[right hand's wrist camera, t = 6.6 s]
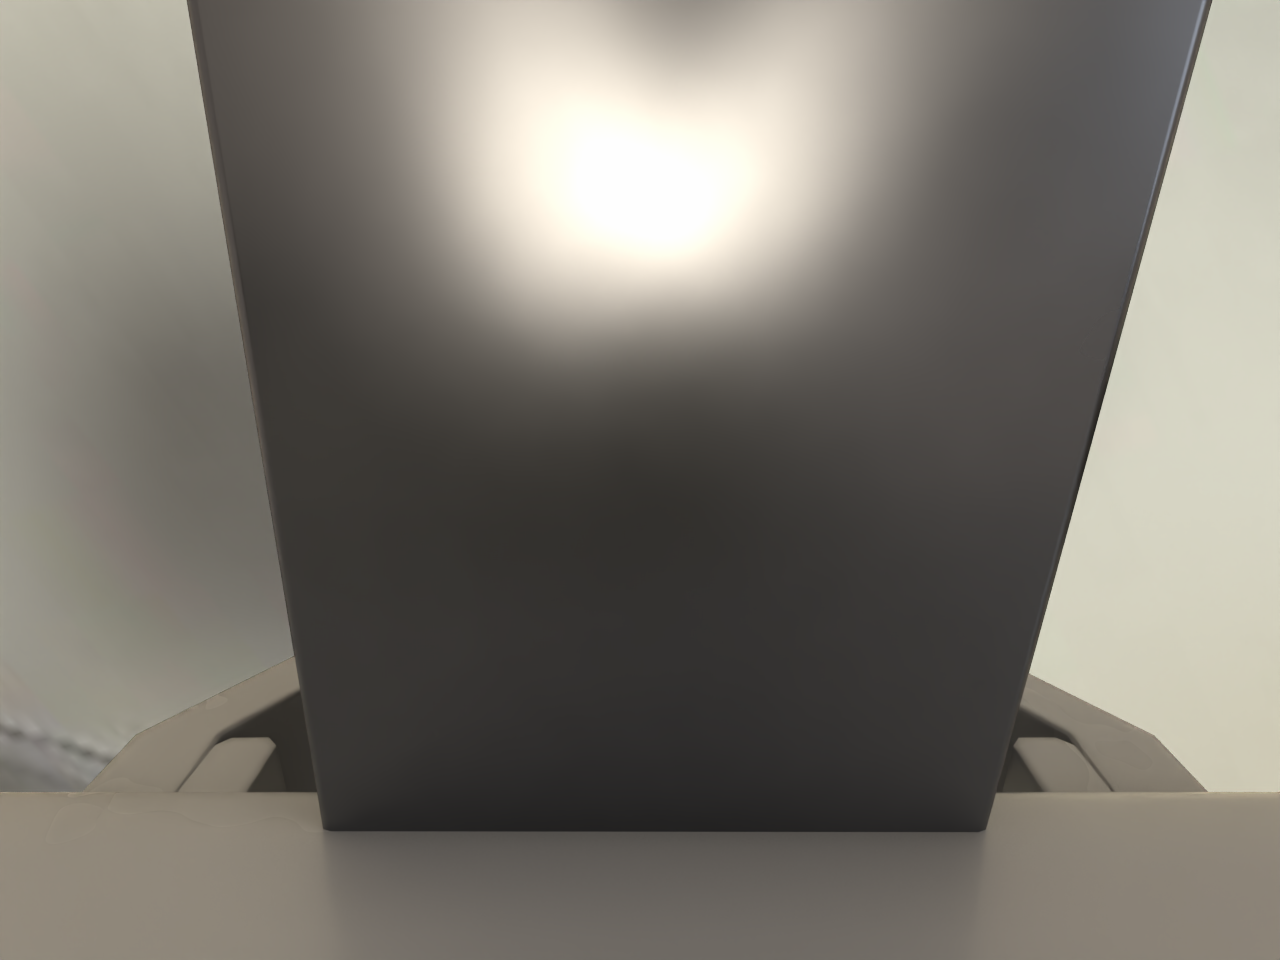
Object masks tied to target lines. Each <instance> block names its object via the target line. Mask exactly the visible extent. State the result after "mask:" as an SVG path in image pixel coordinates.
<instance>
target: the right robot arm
mask: <svg viewBox="0 0 1280 960" xmlns="http://www.w3.org/2000/svg"><path fill="white" fill-rule="evenodd" d="M0 960H1280V792H1208V791H1207V790H1206V789H1205V788H1204V787H1203V786H1202V785H1201V784H1200V783H1199V782H1198V781H1197V780H1196V779H1195V778H1194V777H1193V776H1192V775H1191V774H1190V773H1189V772H1188V770H1187V769H1186V768H1185V767H1184V766H1183V765H1182V764H1181V763H1180V762H1179V761H1178V760H1177V759H1176V758H1175V757H1174V756H1173V755H1172V754H1171V753H1170V752H1169V751H1168V749H1167V748H1166V747H1165V746H1164V745H1163V744H1162V743H1161V742H1160V741H1159V740H1158V739H1157V738H1156V737H1155V736H1154V735H1152V734H1150V733H1148V732H1146V731H1144V730H1142V729H1140V728H1138V727H1136V726H1134V725H1132V724H1130V723H1128V722H1126V721H1124V720H1122V719H1120V718H1118V717H1116V716H1113V715H1111V714H1109V713H1107V712H1105V711H1103V710H1101V709H1099V708H1097V707H1095V706H1093V705H1091V704H1089V703H1087V702H1085V701H1083V700H1081V699H1079V698H1077V697H1075V696H1073V695H1071V694H1069V693H1067V692H1065V691H1063V690H1061V689H1059V688H1057V687H1055V686H1053V685H1051V684H1049V683H1047V682H1045V681H1043V680H1041V679H1039V678H1037V677H1035V676H1033V675H1031V674H1028V677H1027V681H1026V685H1025V688H1024V692H1023V696H1022V699H1021V703H1020V707H1019V710H1018V714H1017V718H1016V721H1015V725H1014V729H1013V732H1012V736H1011V740H1010V743H1009V747H1008V751H1007V754H1006V758H1005V762H1004V765H1003V769H1002V773H1001V776H1000V780H999V784H998V787H997V791H996V795H995V798H994V802H993V806H992V809H991V813H990V817H989V820H988V824H987V828H986V830H983V831H980V832H467V831H328V830H325V829H323V826H322V820H321V814H320V808H319V802H318V796H317V789H316V783H315V777H314V771H313V765H312V759H311V753H310V747H309V741H308V735H307V729H306V723H305V716H304V710H303V704H302V698H301V692H300V686H299V680H298V674H297V668H296V662H295V656H293V657H291V658H289V659H287V660H285V661H283V662H281V663H279V664H277V665H275V666H273V667H271V668H269V669H267V670H265V671H263V672H261V673H259V674H257V675H255V676H253V677H251V678H249V679H247V680H245V681H243V682H241V683H239V684H237V685H235V686H233V687H231V688H229V689H227V690H225V691H223V692H221V693H219V694H217V695H215V696H213V697H211V698H209V699H207V700H205V701H203V702H201V703H199V704H197V705H195V706H193V707H191V708H189V709H187V710H185V711H183V712H181V713H179V714H177V715H175V716H173V717H171V718H169V719H167V720H165V721H163V722H161V723H159V724H157V725H154V726H152V727H150V728H148V729H146V730H144V731H142V732H140V733H138V734H136V735H135V736H134V737H133V738H132V739H131V741H130V742H129V743H128V744H127V745H126V746H125V747H124V748H123V749H122V750H121V751H120V752H119V753H118V754H117V755H116V756H115V758H114V759H113V760H112V761H111V762H110V763H109V764H108V765H107V766H106V767H105V768H104V769H103V770H102V771H101V772H100V773H99V775H98V776H97V777H96V778H95V779H94V780H93V781H92V782H91V783H90V784H89V785H88V786H87V787H86V788H85V789H84V790H83V791H82V792H0Z"/></svg>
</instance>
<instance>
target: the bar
mask: <svg viewBox="0 0 1280 960" xmlns="http://www.w3.org/2000/svg"><path fill="white" fill-rule="evenodd" d="M1211 3H1212V0H187V5H188V11H189V17H190V23H191V29H192V35H193V41H194V47H195V53H196V59H197V65H198V72H199V78H200V84H201V90H202V96H203V102H204V108H205V114H206V120H207V126H208V132H209V138H210V145H211V151H212V157H213V163H214V169H215V175H216V181H217V187H218V193H219V199H220V205H221V211H222V218H223V224H224V230H225V236H226V242H227V248H228V254H229V260H230V266H231V272H232V278H233V284H234V291H235V297H236V303H237V309H238V315H239V321H240V327H241V333H242V339H243V345H244V351H245V357H246V364H247V370H248V376H249V382H250V388H251V394H252V400H253V406H254V412H255V418H256V424H257V430H258V437H259V443H260V449H261V455H262V461H263V467H264V473H265V479H266V485H267V491H268V497H269V504H270V510H271V516H272V522H273V528H274V534H275V540H276V546H277V552H278V558H279V564H280V570H281V577H282V583H283V589H284V595H285V601H286V607H287V613H288V619H289V625H290V631H291V637H292V643H293V650H294V656H295V662H296V668H297V674H298V680H299V686H300V692H301V698H302V704H303V710H304V716H305V723H306V729H307V735H308V741H309V747H310V753H311V759H312V765H313V771H314V777H315V783H316V789H317V796H318V802H319V808H320V814H321V820H322V826H323V829H325V830H328V831H467V832H980V831H983V830H986V828H987V824H988V820H989V817H990V813H991V809H992V806H993V802H994V798H995V795H996V791H997V787H998V784H999V780H1000V776H1001V773H1002V769H1003V765H1004V762H1005V758H1006V754H1007V751H1008V747H1009V743H1010V740H1011V736H1012V732H1013V729H1014V725H1015V721H1016V718H1017V714H1018V710H1019V707H1020V703H1021V699H1022V696H1023V692H1024V688H1025V685H1026V681H1027V677H1028V674H1029V670H1030V666H1031V663H1032V659H1033V655H1034V652H1035V648H1036V644H1037V641H1038V637H1039V633H1040V630H1041V626H1042V622H1043V619H1044V615H1045V611H1046V608H1047V604H1048V600H1049V597H1050V593H1051V589H1052V586H1053V582H1054V578H1055V575H1056V571H1057V567H1058V564H1059V560H1060V556H1061V553H1062V549H1063V545H1064V542H1065V538H1066V534H1067V531H1068V527H1069V523H1070V520H1071V516H1072V512H1073V509H1074V505H1075V501H1076V498H1077V494H1078V490H1079V487H1080V483H1081V480H1082V476H1083V472H1084V469H1085V465H1086V461H1087V458H1088V454H1089V450H1090V447H1091V443H1092V439H1093V436H1094V432H1095V428H1096V425H1097V421H1098V417H1099V414H1100V410H1101V406H1102V403H1103V399H1104V395H1105V392H1106V388H1107V384H1108V381H1109V377H1110V373H1111V370H1112V366H1113V362H1114V359H1115V355H1116V351H1117V348H1118V344H1119V340H1120V337H1121V333H1122V329H1123V326H1124V322H1125V318H1126V315H1127V311H1128V307H1129V304H1130V300H1131V296H1132V293H1133V289H1134V285H1135V282H1136V278H1137V274H1138V271H1139V267H1140V263H1141V260H1142V256H1143V252H1144V249H1145V245H1146V241H1147V238H1148V234H1149V230H1150V227H1151V223H1152V219H1153V216H1154V212H1155V208H1156V205H1157V201H1158V197H1159V194H1160V190H1161V186H1162V183H1163V179H1164V175H1165V172H1166V168H1167V164H1168V161H1169V157H1170V153H1171V150H1172V146H1173V142H1174V139H1175V135H1176V131H1177V128H1178V124H1179V120H1180V117H1181V113H1182V109H1183V106H1184V102H1185V98H1186V95H1187V91H1188V87H1189V84H1190V80H1191V76H1192V73H1193V69H1194V65H1195V62H1196V58H1197V54H1198V51H1199V47H1200V43H1201V40H1202V36H1203V32H1204V29H1205V25H1206V21H1207V18H1208V14H1209V10H1210V7H1211Z"/></svg>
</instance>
